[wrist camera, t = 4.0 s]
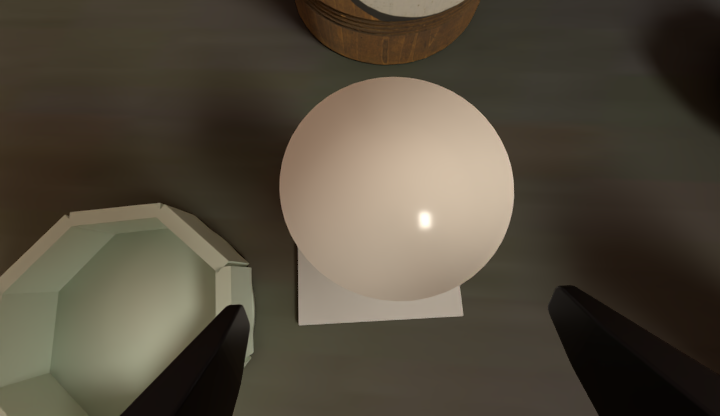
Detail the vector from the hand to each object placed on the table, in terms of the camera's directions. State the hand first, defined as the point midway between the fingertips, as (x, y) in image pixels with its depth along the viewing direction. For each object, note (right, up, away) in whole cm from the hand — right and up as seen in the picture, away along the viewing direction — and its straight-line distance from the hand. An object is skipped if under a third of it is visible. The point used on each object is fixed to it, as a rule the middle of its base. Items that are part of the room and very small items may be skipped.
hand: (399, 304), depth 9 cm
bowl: (-14, -4, +10) cm, 18 cm away
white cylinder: (0, +1, +11) cm, 11 cm away
